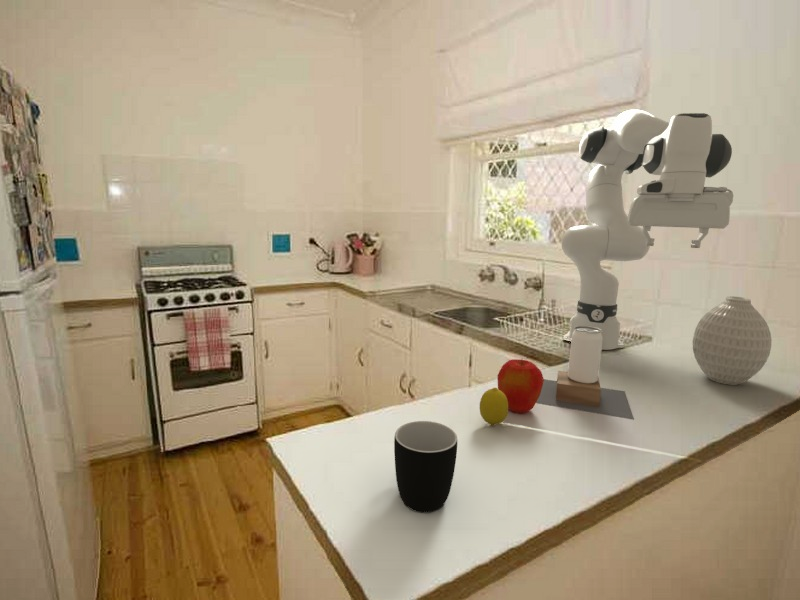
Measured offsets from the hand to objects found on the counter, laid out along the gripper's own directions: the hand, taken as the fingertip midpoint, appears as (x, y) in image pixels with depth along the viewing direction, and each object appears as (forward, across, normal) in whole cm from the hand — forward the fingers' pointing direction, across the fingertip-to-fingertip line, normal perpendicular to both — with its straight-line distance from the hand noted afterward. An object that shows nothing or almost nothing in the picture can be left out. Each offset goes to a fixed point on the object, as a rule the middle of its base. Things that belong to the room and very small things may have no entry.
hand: (671, 246), depth 103 cm
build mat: (+35, +18, +16) cm, 42 cm away
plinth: (+35, +18, +16) cm, 42 cm away
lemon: (+35, +34, +38) cm, 62 cm away
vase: (+35, -19, -13) cm, 42 cm away
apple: (+35, +30, +29) cm, 55 cm away
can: (+31, +17, +15) cm, 38 cm away
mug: (+35, +41, +64) cm, 84 cm away
